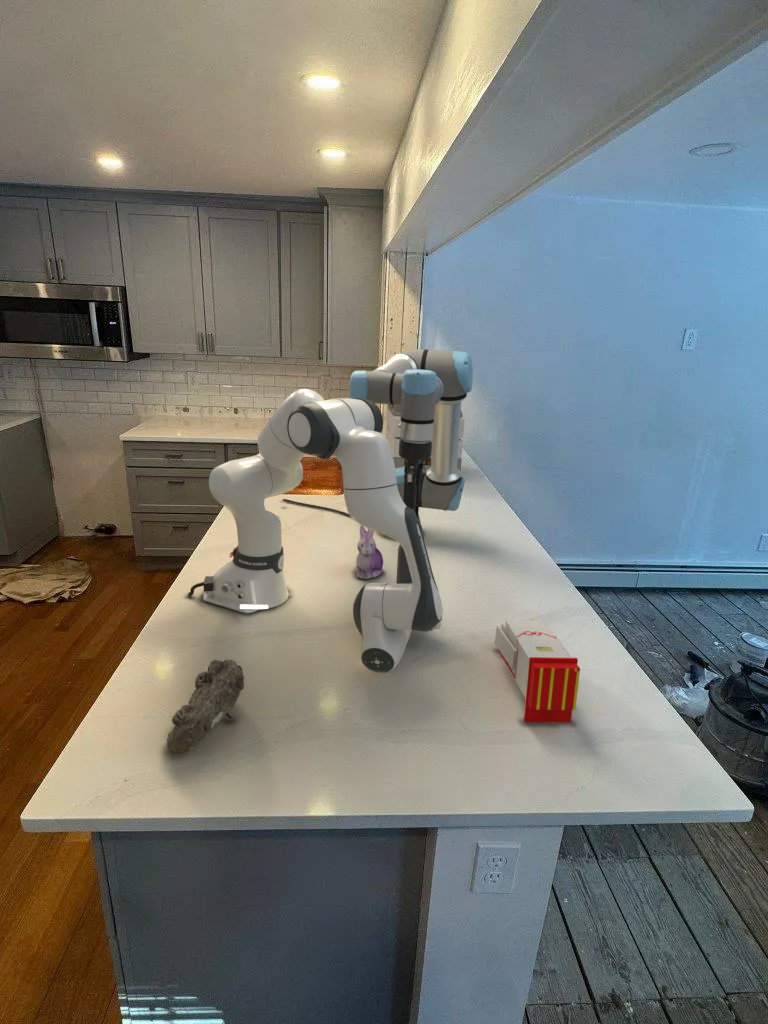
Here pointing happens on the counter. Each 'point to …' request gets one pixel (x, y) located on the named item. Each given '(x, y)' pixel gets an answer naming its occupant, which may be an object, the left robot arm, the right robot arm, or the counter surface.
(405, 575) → the bottle
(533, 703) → the toy
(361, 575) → the figurine
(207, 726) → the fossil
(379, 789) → the counter surface
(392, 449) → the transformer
